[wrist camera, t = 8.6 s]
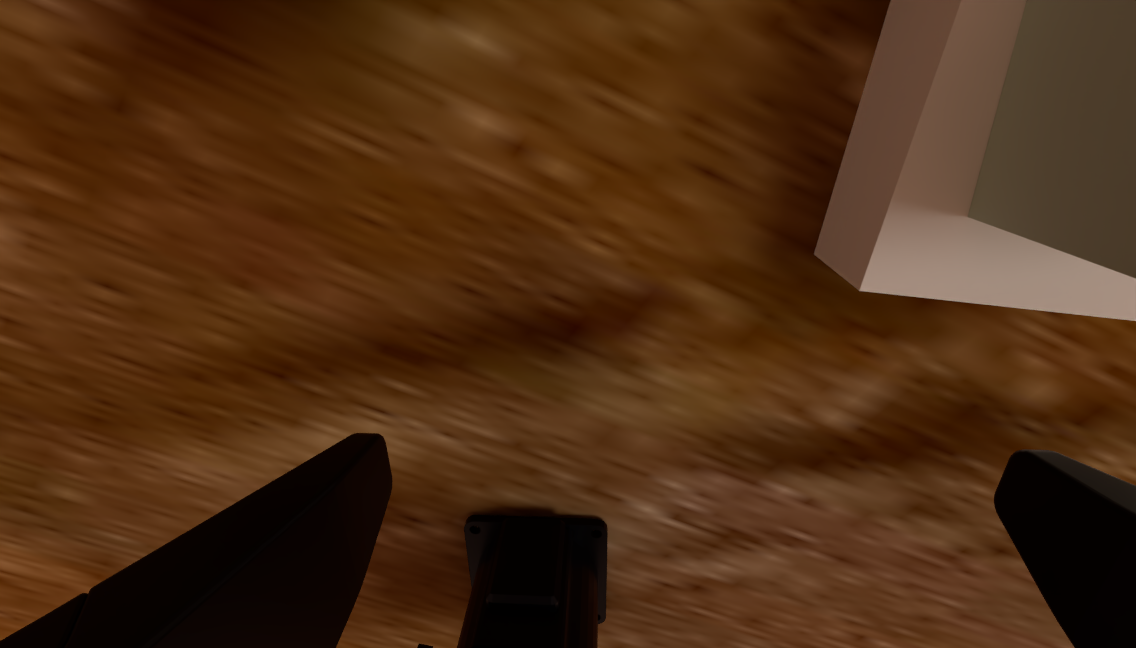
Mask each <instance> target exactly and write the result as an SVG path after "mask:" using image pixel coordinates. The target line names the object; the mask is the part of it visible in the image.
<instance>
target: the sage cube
mask: <svg viewBox="0 0 1136 648" xmlns="http://www.w3.org/2000/svg"><path fill="white" fill-rule="evenodd" d="M968 217H969V218H972V219H975V220H977V221H980V222H983V223H985V224H988V225H991V226H994V227H996V228H999V229H1002V230H1005V231H1007V232H1010V233H1013V234H1016V235H1018V236H1021V237H1024V238H1026V239H1029V240H1032V241H1035V242H1037V243H1040V244H1043V245H1046V246H1048V247H1051V248H1054V249H1056V250H1059V251H1062V252H1065V253H1067V254H1070V255H1073V256H1076V257H1078V258H1081V259H1084V260H1086V261H1089V262H1092V263H1095V264H1097V265H1100V266H1103V267H1106V268H1108V269H1111V270H1114V271H1116V272H1119V273H1122V274H1125V275H1127V276H1130V277H1133V278H1136V0H1027V1H1026V5H1025V9H1024V12H1023V16H1022V19H1021V23H1020V27H1019V30H1018V34H1017V38H1016V41H1015V45H1014V49H1013V52H1012V56H1011V60H1010V63H1009V67H1008V71H1007V74H1006V78H1005V82H1004V85H1003V89H1002V93H1001V96H1000V100H999V104H998V107H997V111H996V115H995V118H994V122H993V126H992V129H991V133H990V137H989V140H988V144H987V148H986V151H985V155H984V158H983V162H982V166H981V169H980V173H979V177H978V180H977V184H976V188H975V191H974V195H973V199H972V202H971V206H970V210H969V213H968Z"/></svg>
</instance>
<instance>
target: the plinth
mask: <svg viewBox="0 0 1136 648" xmlns="http://www.w3.org/2000/svg"><path fill="white" fill-rule="evenodd" d="M1026 1H1027V0H891V1H890V4H889V7H888V11H887V14H886V17H885V21H884V24H883V27H882V31H881V34H880V37H879V40H878V44H877V47H876V50H875V54H874V57H873V60H872V64H871V67H870V70H869V73H868V77H867V80H866V83H865V87H864V90H863V93H862V97H861V100H860V103H859V106H858V110H857V113H856V116H855V120H854V123H853V126H852V130H851V133H850V136H849V139H848V143H847V146H846V149H845V153H844V156H843V159H842V163H841V166H840V169H839V172H838V176H837V179H836V182H835V186H834V189H833V192H832V196H831V199H830V202H829V205H828V209H827V212H826V215H825V219H824V222H823V225H822V229H821V232H820V235H819V238H818V242H817V245H816V248H815V252H814V255H815V256H817V257H818V258H819V259H820V260H822V261H823V262H824V263H825V264H827V265H828V266H829V267H830V268H832V269H833V270H834V271H835V272H837V273H838V274H839V275H840V276H841V277H843V278H844V279H845V280H846V281H848V282H849V283H850V284H851V285H853V286H854V287H855V288H856V289H858V290H859V291H866V292H875V293H884V294H894V295H903V296H912V297H921V298H930V299H939V300H949V301H958V302H967V303H976V304H985V305H995V306H1004V307H1013V308H1022V309H1031V310H1040V311H1050V312H1059V313H1068V314H1077V315H1086V316H1096V317H1105V318H1114V319H1123V320H1132V321H1136V278H1133V277H1130V276H1127V275H1125V274H1122V273H1119V272H1116V271H1114V270H1111V269H1108V268H1106V267H1103V266H1100V265H1097V264H1095V263H1092V262H1089V261H1086V260H1084V259H1081V258H1078V257H1076V256H1073V255H1070V254H1067V253H1065V252H1062V251H1059V250H1056V249H1054V248H1051V247H1048V246H1046V245H1043V244H1040V243H1037V242H1035V241H1032V240H1029V239H1026V238H1024V237H1021V236H1018V235H1016V234H1013V233H1010V232H1007V231H1005V230H1002V229H999V228H996V227H994V226H991V225H988V224H985V223H983V222H980V221H977V220H975V219H972V218H969V217H968V213H969V210H970V206H971V202H972V199H973V195H974V191H975V188H976V184H977V180H978V177H979V173H980V169H981V166H982V162H983V158H984V155H985V151H986V148H987V144H988V140H989V137H990V133H991V129H992V126H993V122H994V118H995V115H996V111H997V107H998V104H999V100H1000V96H1001V93H1002V89H1003V85H1004V82H1005V78H1006V74H1007V71H1008V67H1009V63H1010V60H1011V56H1012V52H1013V49H1014V45H1015V41H1016V38H1017V34H1018V30H1019V27H1020V23H1021V19H1022V16H1023V12H1024V9H1025V5H1026Z"/></svg>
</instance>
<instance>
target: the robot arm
mask: <svg viewBox="0 0 1136 648" xmlns="http://www.w3.org/2000/svg"><path fill="white" fill-rule="evenodd" d="M391 490H392V473H391V468H390V463H389V458H388V452H387V447H386V442H385V440H384V438H383V436H381V435H380V434H375V433H355V434H352V435H350V436H348V437H347V438H345V439H343V440H342V441H340V442H338V443H337V444H335V445H333V446H332V447H330V448H328V449H326V450H325V451H323V452H321V453H320V454H318V455H316V456H315V457H313V458H311V459H309V460H308V461H306V462H304V463H303V464H301V465H299V466H298V467H296V468H294V469H292V470H291V471H289V472H287V473H286V474H284V475H282V476H281V477H279V478H277V479H276V480H274V481H272V482H270V483H269V484H267V485H265V486H264V487H262V488H260V489H259V490H257V491H255V492H253V493H252V494H250V495H248V496H247V497H245V498H243V499H242V500H240V501H238V502H236V503H235V504H233V505H231V506H230V507H228V508H226V509H225V510H223V511H221V512H219V513H218V514H216V515H214V516H213V517H211V518H209V519H208V520H206V521H204V522H202V523H201V524H199V525H197V526H196V527H194V528H192V529H191V530H189V531H187V532H186V533H184V534H182V535H180V536H179V537H177V538H175V539H174V540H172V541H170V542H169V543H167V544H165V545H163V546H162V547H160V548H158V549H157V550H155V551H153V552H152V553H150V554H148V555H146V556H145V557H143V558H141V559H140V560H138V561H136V562H135V563H133V564H131V565H129V566H128V567H126V568H124V569H123V570H121V571H119V572H118V573H116V574H114V575H113V576H111V577H109V578H107V579H106V580H104V581H102V582H101V583H99V584H97V585H96V586H94V587H92V588H91V589H90V591H89V593H88V594H87V593H82V594H80V595H78V596H77V597H75V598H73V599H72V600H70V601H68V602H66V603H65V604H63V605H61V606H60V607H58V608H56V609H55V610H53V611H51V612H50V613H48V614H46V615H45V616H43V617H41V618H39V619H38V620H36V621H34V622H32V623H31V624H29V625H27V626H25V627H24V628H22V629H20V630H18V631H17V632H15V633H13V634H11V635H10V636H8V637H6V638H5V639H3V640H1V641H0V648H336V646H337V644H338V641H339V639H340V637H341V634H342V632H343V630H344V627H345V625H346V623H347V621H348V618H349V616H350V614H351V611H352V609H353V607H354V604H355V602H356V599H357V597H358V594H359V592H360V589H361V586H362V583H363V580H364V578H365V575H366V571H367V568H368V565H369V562H370V559H371V555H372V552H373V549H374V546H375V543H376V540H377V536H378V533H379V530H380V527H381V524H382V520H383V517H384V514H385V511H386V508H387V504H388V501H389V498H390V495H391ZM994 505H995V509H996V512H997V514H998V516H999V518H1000V520H1001V521H1002V523H1003V525H1004V527H1005V529H1006V530H1007V532H1008V534H1009V536H1010V538H1011V539H1012V541H1013V543H1014V545H1015V547H1016V549H1017V550H1018V552H1019V554H1020V556H1021V558H1022V559H1023V561H1024V563H1025V565H1026V567H1027V568H1028V570H1029V572H1030V574H1031V576H1032V577H1033V579H1034V581H1035V583H1036V585H1037V586H1038V588H1039V590H1040V592H1041V594H1042V595H1043V597H1044V599H1045V601H1046V603H1047V604H1048V606H1049V608H1050V609H1051V611H1052V613H1053V614H1054V616H1055V618H1056V620H1057V621H1058V623H1059V624H1060V626H1061V627H1062V629H1063V631H1064V632H1065V634H1066V635H1067V637H1068V638H1069V640H1070V641H1071V643H1072V644H1073V646H1074V647H1075V648H1136V486H1135V485H1132V484H1130V483H1128V482H1125V481H1123V480H1121V479H1118V478H1116V477H1114V476H1111V475H1109V474H1106V473H1104V472H1102V471H1099V470H1097V469H1095V468H1092V467H1090V466H1088V465H1085V464H1083V463H1080V462H1078V461H1076V460H1073V459H1071V458H1069V457H1066V456H1064V455H1062V454H1059V453H1057V452H1054V451H1049V450H1019V451H1016V452H1015V453H1013V454H1012V455H1011V457H1010V458H1009V460H1008V463H1007V465H1006V468H1005V470H1004V473H1003V475H1002V477H1001V480H1000V482H999V485H998V487H997V489H996V492H995V495H994ZM474 526H478V527H474ZM593 530H599V531H593ZM464 532H465V540H466V547H467V555H468V563H469V571H470V578H471V586H472V591H471V595H470V599H469V603H468V607H467V611H466V614H465V618H464V622H463V626H462V630H461V634H460V638H459V642H458V646H457V648H597V638H598V624H600V623H603V622H604V621H605V618H606V579H607V524H606V523H605V522H604V521H602V520H600V519H586V518H555V517H524V516H493V515H472V516H470V517H468V519H467V520H466V523H465V527H464ZM417 648H433V646H428V645H424V644H419V645H418V647H417Z"/></svg>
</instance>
